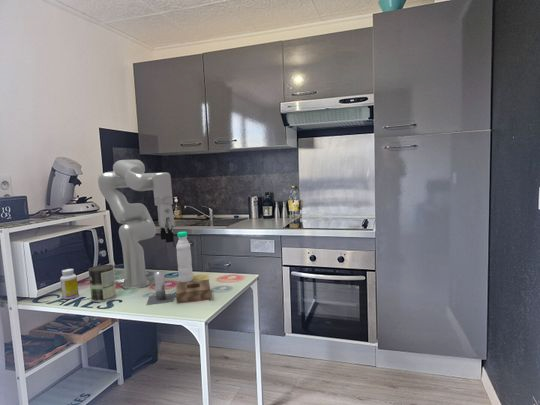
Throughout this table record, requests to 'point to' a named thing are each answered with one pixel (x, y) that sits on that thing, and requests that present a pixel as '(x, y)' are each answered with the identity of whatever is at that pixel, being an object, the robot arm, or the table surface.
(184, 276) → the water bottle
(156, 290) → the steel peg
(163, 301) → the rubber mat
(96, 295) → the coffee can
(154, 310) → the table surface
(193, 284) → the brown peg hole board
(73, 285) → the supplement bottle
